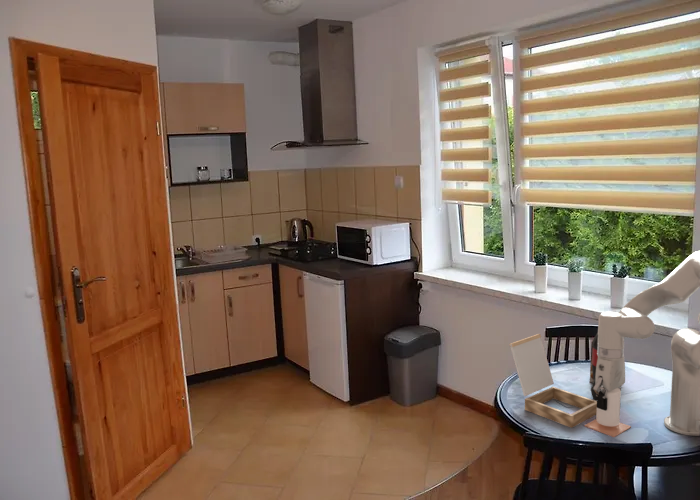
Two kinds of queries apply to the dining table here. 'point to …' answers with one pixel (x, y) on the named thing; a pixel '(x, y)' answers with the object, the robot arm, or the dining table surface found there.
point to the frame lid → (531, 364)
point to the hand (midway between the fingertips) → (608, 405)
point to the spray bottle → (610, 409)
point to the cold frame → (570, 420)
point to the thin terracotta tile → (608, 428)
